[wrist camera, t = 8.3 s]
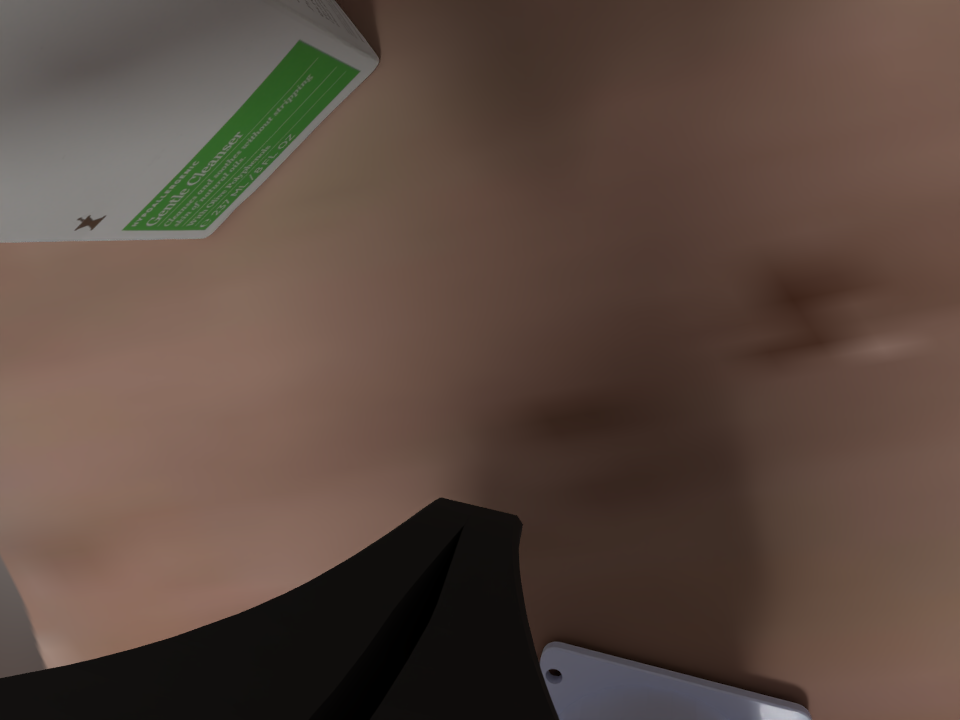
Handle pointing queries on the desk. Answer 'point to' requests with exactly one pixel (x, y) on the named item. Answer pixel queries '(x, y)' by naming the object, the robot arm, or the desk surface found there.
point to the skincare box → (159, 109)
